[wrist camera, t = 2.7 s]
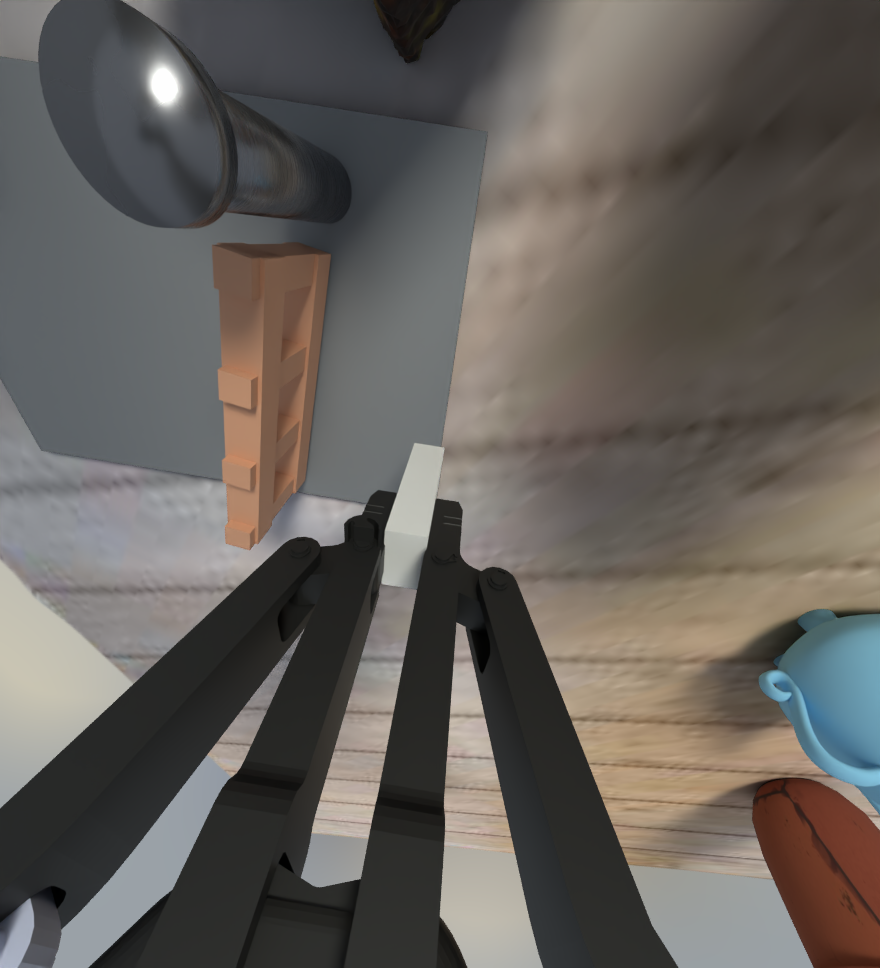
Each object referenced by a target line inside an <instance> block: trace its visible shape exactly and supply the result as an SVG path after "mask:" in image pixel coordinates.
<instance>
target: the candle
mask: <svg viewBox="0 0 880 968" xmlns="http://www.w3.org/2000/svg"><path fill="white" fill-rule="evenodd" d="M459 1H460V0H374V4H375V8H376V10H377V13H378V15H379V18H380V21H381V23H382V26H383V28H384V29H385V30H386V31H387V32H388V34H389V36H390V38H391V40H392V41H393V44H394V47H395V49H397V50H398V53H399V56H401V57H403V58H404V60H405V63H407V64H408V63H411V62H415V61H418V60H419V57H420V53H421V49H422V45H423V42H424V40H425V39H429V38H430V37H431V36H432V35H433V34H434V33H435V32H436V31H437V30H438V29H439V28H440V27H441V26H442V24H443V22H444V20H445V19H446V17H447V15H448V13H449V12H450V10H451V8H452V7H453V5H455V4H456V3H457V2H459Z"/></svg>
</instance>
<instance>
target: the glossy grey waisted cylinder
mask: <svg viewBox="0 0 880 968" xmlns="http://www.w3.org/2000/svg"><path fill="white" fill-rule="evenodd" d="M38 59H39V74H40V82H41V87H42V92H43V96H44V100H45V103H46V106H47V110H48V113H49V116H50V118H51V121H52V123H53V126H54V128H55V130H56V132H57V135H58V137H59V139H60V141H61V143H62V145H63V146H64V148H65V150H66V152H67V153H68V155H69V157H70V158H71V160H72V161H73V163H74V164H75V166H76V167H77V169H78V170H79V171H80V173H81V174H82V175H83V177H84V178H85V179H86V180H87V182H88V183H89V184H90V185H91V186H92V187H93V188H94V189H95V190H96V192H97V193H99V194H100V195H101V196H102V197H103V198H104V199H105V200H106V201H107V202H108V203H110V204H111V205H112V206H113V207H115V208H116V209H117V210H119V211H120V212H122V213H123V214H125V215H126V216H128V217H130V218H132V219H134V220H136V221H138V222H140V223H143V224H146V225H149V226H153V227H159V228H177V229H197V228H202V227H205V226H208V225H210V224H212V223H214V222H215V221H216V220H218V219H219V218H220V217H221V216H222V215H223V214H224V212H226V213H235V214H244V215H253V216H262V217H271V218H280V219H289V220H298V221H307V222H316V223H325V224H332V223H336V222H338V221H339V220H341V219H342V218H343V217H344V216H345V215H346V213H347V212H348V210H349V207H350V204H351V198H352V188H351V183H350V179H349V176H348V174H347V172H346V170H345V168H344V166H343V165H342V164H341V162H340V161H339V160H338V159H337V158H336V157H334V156H333V155H331V154H330V153H328V152H326V151H325V150H323V149H321V148H319V147H318V146H316V145H314V144H312V143H311V142H309V141H307V140H305V139H304V138H302V137H300V136H298V135H297V134H295V133H293V132H292V131H290V130H288V129H286V128H285V127H283V126H281V125H279V124H278V123H276V122H274V121H272V120H271V119H269V118H267V117H265V116H264V115H262V114H260V113H259V112H257V111H255V110H253V109H252V108H250V107H248V106H246V105H245V104H243V103H241V102H239V101H238V100H236V99H234V98H232V97H231V96H229V95H227V94H225V93H224V92H222V91H220V90H219V89H217V87H216V86H215V84H214V82H213V80H212V79H211V77H210V75H209V74H208V73H207V71H206V70H205V68H204V67H203V65H202V64H201V63H200V61H199V60H198V59H197V58H196V57H195V55H194V54H193V53H192V52H191V51H190V50H189V49H188V48H187V47H186V46H185V45H184V44H183V43H182V42H181V41H180V40H179V39H177V38H176V37H175V36H174V35H172V34H171V33H170V32H169V31H167V30H166V29H164V28H163V27H161V26H160V25H158V24H157V23H155V22H154V21H152V20H151V19H149V18H148V17H146V16H145V15H143V14H142V13H140V12H139V11H137V10H136V9H134V8H133V7H131V6H129V5H128V4H126V3H124V2H123V1H121V0H61V1H60V2H58V3H57V4H56V5H55V6H54V7H53V9H52V10H51V11H50V13H49V14H48V16H47V18H46V21H45V23H44V25H43V28H42V32H41V36H40V42H39V51H38Z"/></svg>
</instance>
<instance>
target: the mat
mask: <svg viewBox="0 0 880 968" xmlns="http://www.w3.org/2000/svg"><path fill="white" fill-rule="evenodd" d="M222 92H224V93H225V94H227V95H229V96H231V97H232V98H234V99H236V100H238V101H239V102H241V103H243V104H245V105H246V106H248V107H250V108H252V109H253V110H255V111H257V112H259V113H260V114H262V115H264V116H265V117H267V118H269V119H271V120H272V121H274V122H276V123H278V124H279V125H281V126H283V127H285V128H286V129H288V130H290V131H292V132H293V133H295V134H297V135H298V136H300V137H302V138H304V139H305V140H307V141H309V142H311V143H312V144H314V145H316V146H318V147H319V148H321V149H323V150H325V151H326V152H328V153H330V154H331V155H333V156H334V157H336V158H337V159H338V160H339V161H340V162H341V164H342V165H343V166H344V168H345V170H346V172H347V174H348V176H349V179H350V183H351V188H352V198H351V204H350V207H349V210H348V212H347V213H346V215H345V216H344V217H343V218H342V219H341V220H339V221H338V222H336V223H332V224H325V223H316V222H307V221H298V220H289V219H280V218H271V217H262V216H253V215H244V214H235V213H226V212H224V214H223V215H222V216H221V217H220V218H219V219H218V220H216V221H215V222H214V223H212V224H210V225H208V226H205V227H202V228H197V229H177V228H159V227H153V226H149V225H146V224H143V223H140V222H138V221H136V220H134V219H132V218H130V217H128V216H126V215H125V214H123V213H122V212H120V211H119V210H117V209H116V208H115V207H113V206H112V205H111V204H110V203H108V202H107V201H106V200H105V199H104V198H103V197H102V196H101V195H100V194H99V193H97V192H96V190H95V189H94V188H93V187H92V186H91V185H90V184H89V183H88V182H87V180H86V179H85V178H84V177H83V175H82V174H81V173H80V171H79V170H78V169H77V167H76V166H75V164H74V163H73V161H72V160H71V158H70V157H69V155H68V153H67V152H66V150H65V148H64V146H63V145H62V143H61V141H60V139H59V137H58V135H57V132H56V130H55V128H54V126H53V123H52V121H51V118H50V116H49V113H48V110H47V106H46V103H45V100H44V96H43V92H42V87H41V82H40V74H39V62H33V61H26V60H20V59H13V58H7V57H0V379H1V380H2V382H3V384H4V386H5V387H6V389H7V391H8V393H9V394H10V396H11V398H12V400H13V401H14V403H15V405H16V407H17V409H18V410H19V412H20V414H21V416H22V417H23V419H24V421H25V423H26V424H27V426H28V428H29V430H30V431H31V433H32V435H33V437H34V439H35V440H36V442H37V444H38V446H39V447H40V449H41V451H47V452H53V453H59V454H65V455H72V456H78V457H84V458H90V459H96V460H102V461H109V462H115V463H121V464H127V465H133V466H140V467H146V468H152V469H158V470H164V471H170V472H177V473H183V474H189V475H195V476H201V477H207V478H214V479H220V480H223V475H222V460H223V459H224V458H225V435H224V410H223V401H222V400H219V388H218V369H219V368H221V367H222V359H221V334H220V308H219V290H218V289H215V288H214V281H213V259H212V245H217V243H246V244H283V242H299V243H302V244H305V245H307V246H310V247H313V248H316V249H318V250H321V251H324V252H327V253H329V254H331V260H330V268H329V277H328V286H327V294H326V303H325V312H324V320H323V329H322V338H321V347H320V355H319V364H318V373H317V381H316V390H315V399H314V407H313V416H312V425H311V433H310V442H309V451H308V459H307V468H306V477H305V481H304V482H303V484H302V485H301V486H300V488H299V489H298V491H297V492H300V493H306V494H312V495H319V496H325V497H331V498H337V499H343V500H349V501H356V502H362V503H368V500H369V498H370V496H371V495H372V494H374V493H375V492H376V491H377V490H382V491H388V492H395V493H398V490H399V487H400V484H401V481H402V478H403V475H404V472H405V470H406V467H407V464H408V461H409V458H410V455H411V452H412V449H413V446H414V443H419V444H425V445H431V446H437V447H441V445H442V438H443V431H444V424H445V418H446V411H447V404H448V397H449V391H450V384H451V377H452V370H453V364H454V357H455V350H456V343H457V337H458V330H459V323H460V316H461V310H462V303H463V296H464V289H465V283H466V276H467V269H468V262H469V256H470V249H471V242H472V235H473V229H474V222H475V215H476V208H477V202H478V195H479V188H480V181H481V175H482V168H483V161H484V154H485V148H486V141H487V132H486V131H480V130H473V129H467V128H460V127H454V126H447V125H441V124H434V123H428V122H421V121H415V120H408V119H402V118H395V117H389V116H382V115H376V114H369V113H363V112H357V111H350V110H344V109H337V108H331V107H324V106H318V105H311V104H305V103H298V102H292V101H285V100H279V99H272V98H266V97H259V96H253V95H246V94H240V93H233V92H227V91H222Z"/></svg>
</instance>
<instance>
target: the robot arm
mask: <svg viewBox="0 0 880 968" xmlns="http://www.w3.org/2000/svg"><path fill="white" fill-rule="evenodd" d="M444 449H445V448H443V447H437V446H431V445H425V444H419V443H414V446H413V449H412V452H411V455H410V458H409V461H408V464H407V467H406V470H405V472H404V475H403V478H402V481H401V484H400V487H399V490H398V493H395V492H388V491H382V490H377V491H376V492H375V493H374V494H372V495H371V496H370V498H369V500H368V503H367V505H366V507H365V509H364V512H363V514H362V515H359V516H354V517H352V518H350V519H348V520H347V522H346V523H345V524H344V533H345V542H344V543H342V544H339V545H334V546H323V547H320V545H319V543H318V542H317V541H316V540H314V539H312V538H308V537H297V538H294V539H291V540H289V541H287V542H286V543H285V544H283V545H282V546H281V547H280V548H279V549H278V550H277V551H276V552H275V553H274V554H273V555H271V556H270V557H269V558H268V559H267V560H266V561H265V562H264V563H263V564H262V565H261V566H260V567H259V568H257V569H256V570H255V571H254V572H253V573H252V574H251V575H250V576H249V577H248V578H247V579H246V580H245V581H244V582H242V583H241V584H240V585H239V586H238V587H237V588H236V589H235V590H234V591H233V592H232V593H231V594H230V595H229V596H227V597H226V598H225V599H224V600H223V601H222V602H221V603H220V604H219V605H218V606H217V607H216V608H215V609H214V610H212V611H211V612H210V613H209V614H208V615H207V616H206V617H205V618H204V619H203V620H202V621H201V622H200V623H199V624H197V625H196V626H195V627H194V628H193V629H192V630H191V631H190V632H189V633H188V634H187V635H186V636H185V637H184V638H182V639H181V640H180V641H179V642H178V643H177V644H176V645H175V646H174V647H173V648H172V649H171V650H170V651H169V652H167V653H166V654H165V655H164V656H163V657H162V658H161V659H160V660H159V661H158V662H157V663H156V664H155V665H154V666H152V667H151V668H150V669H149V670H148V671H147V672H146V673H145V674H144V675H143V676H142V677H141V678H140V679H139V680H137V681H136V682H135V683H134V684H133V685H132V686H131V687H130V688H129V689H128V690H127V691H126V692H125V693H124V694H123V695H121V696H120V697H119V698H118V699H117V700H116V701H115V702H114V703H113V704H112V705H111V706H110V707H109V708H107V710H105V711H104V712H103V713H102V714H101V715H100V716H99V717H98V718H97V719H96V720H95V721H94V722H92V724H90V725H89V726H88V727H87V728H86V729H85V730H84V731H83V732H82V733H81V734H80V735H79V736H78V737H76V738H75V739H74V740H73V741H72V742H71V743H70V744H69V745H68V746H67V747H66V748H65V749H64V750H62V751H61V752H60V753H59V754H58V755H57V756H56V757H55V758H54V759H53V760H52V761H51V762H50V763H49V764H48V765H46V766H45V767H44V768H43V769H42V770H41V771H40V772H39V773H38V774H37V775H36V776H35V777H34V778H32V779H31V780H30V781H29V782H28V783H27V784H26V785H25V786H24V787H23V788H22V789H21V790H20V791H19V792H17V794H15V795H14V796H13V797H12V798H11V799H10V800H9V801H8V802H7V803H6V804H5V805H4V806H2V807H1V808H0V968H52V966H53V963H54V961H55V956H56V953H57V951H58V948H59V943H60V938H61V929H62V928H63V927H64V926H66V925H67V924H68V923H69V922H70V921H71V920H72V919H73V918H74V917H75V916H76V915H77V914H78V913H79V912H80V911H81V910H82V909H83V908H84V907H85V906H86V905H87V903H88V902H89V901H90V900H91V899H92V898H93V897H94V896H95V895H96V894H97V893H98V892H99V891H100V889H101V888H102V887H103V886H104V885H105V884H106V883H107V882H108V881H109V880H110V878H111V877H112V876H113V875H114V874H115V872H116V871H117V870H118V869H119V868H120V866H121V865H122V864H123V863H124V861H125V860H126V859H127V858H128V857H129V855H130V854H131V853H132V852H133V850H134V849H135V848H136V846H137V845H138V844H139V843H140V841H141V840H142V839H143V838H144V836H145V835H146V834H147V832H148V831H149V830H150V828H151V827H152V826H153V825H154V823H155V822H156V821H157V819H158V818H159V817H160V815H161V814H162V813H163V812H164V810H165V809H166V808H167V806H168V805H169V804H170V802H171V801H172V800H173V798H174V797H175V796H176V795H177V793H178V792H179V791H180V789H181V788H182V786H183V785H184V784H185V783H186V781H187V780H188V779H189V778H190V776H191V775H192V774H193V772H194V771H195V770H196V769H197V767H198V766H199V765H200V763H201V762H202V761H203V759H204V758H205V757H206V756H207V754H208V753H209V752H210V750H211V749H212V748H213V746H214V745H215V744H216V743H217V741H218V740H219V739H220V737H221V736H222V735H223V733H224V732H225V731H226V730H227V728H228V727H229V726H230V724H231V723H232V722H233V720H234V719H235V718H236V717H237V715H238V714H239V713H240V711H241V710H242V709H243V707H244V706H245V705H246V704H247V702H248V701H249V700H250V698H251V697H252V696H253V694H254V693H255V692H256V691H257V689H258V688H259V687H260V685H261V684H262V683H263V681H264V680H265V679H266V678H267V676H268V675H269V674H270V672H271V671H272V670H273V668H274V667H275V666H276V664H277V663H278V662H279V661H280V659H281V658H282V657H283V655H284V654H285V653H286V651H287V650H288V649H289V648H290V646H291V645H292V644H293V642H294V641H295V640H296V638H297V637H298V636H299V635H300V633H301V632H302V631H303V629H304V628H305V630H304V632H303V634H302V636H301V638H300V640H299V643H298V645H297V647H296V649H295V651H294V654H293V656H292V658H291V660H290V662H289V664H288V667H287V669H286V671H285V673H284V675H283V678H282V680H281V682H280V684H279V686H278V689H277V691H276V693H275V695H274V697H273V699H272V702H271V704H270V706H269V708H268V710H267V713H266V715H265V717H264V719H263V721H262V723H261V726H260V728H259V730H258V732H257V734H256V737H255V739H254V741H253V743H252V745H251V747H250V750H249V752H248V754H247V756H246V758H245V761H244V762H243V764H242V766H241V768H240V769H239V771H238V772H237V773H236V774H235V775H234V776H233V777H231V778H230V779H229V780H228V781H227V783H226V784H225V785H224V787H223V788H222V789H221V791H220V793H219V795H218V797H217V799H216V800H215V802H214V804H213V807H212V808H211V811H210V813H209V815H208V817H207V819H206V821H205V823H204V825H203V827H202V830H201V831H200V834H199V836H198V838H197V840H196V842H195V844H194V846H193V848H192V850H191V852H190V854H189V857H188V859H187V861H186V863H185V865H184V867H183V869H182V871H181V874H180V875H179V878H178V880H177V882H176V884H175V886H174V888H173V890H172V891H170V892H169V893H168V894H167V895H165V896H164V897H163V898H162V899H160V900H159V901H158V902H157V903H156V904H155V905H154V906H153V907H152V908H151V909H150V910H148V911H147V912H146V913H145V914H144V915H143V916H142V917H141V918H140V919H139V920H138V921H137V922H136V923H135V924H134V925H133V926H132V927H131V928H130V929H129V930H127V931H126V932H125V933H124V934H123V935H122V936H121V937H120V938H119V939H118V940H117V941H116V942H115V943H114V944H113V945H112V946H111V947H110V948H109V949H108V950H107V951H105V952H104V953H103V954H102V955H101V956H100V957H99V958H98V959H97V960H96V961H95V962H94V963H93V964H92V965H91V966H90V967H89V968H467V966H466V963H465V960H464V959H463V956H462V953H461V951H460V949H459V947H458V945H457V943H456V941H455V939H454V937H453V935H452V933H451V932H450V930H449V929H448V927H447V926H446V925H445V923H444V921H443V920H442V919H441V918H440V901H441V884H442V869H443V854H444V838H445V813H444V790H445V776H446V762H447V747H448V733H449V719H450V705H451V691H452V676H453V662H454V648H455V634H456V622H457V623H459V624H461V625H463V626H465V627H466V632H467V637H468V641H469V646H470V650H471V655H472V659H473V664H474V669H475V673H476V678H477V682H478V687H479V691H480V696H481V700H482V705H483V709H484V714H485V719H486V723H487V728H488V732H489V737H490V741H491V746H492V750H493V755H494V759H495V764H496V768H497V773H498V778H499V782H500V787H501V791H502V796H503V800H504V805H505V809H506V814H507V818H508V823H509V828H510V832H511V837H512V841H513V846H514V850H515V855H516V859H517V864H518V868H519V873H520V877H521V882H522V887H523V891H524V895H525V900H526V905H527V909H528V914H529V918H530V922H531V926H532V930H533V934H534V937H535V941H536V945H537V949H538V952H539V956H540V959H541V962H542V965H543V968H678V966H677V965H676V963H675V961H674V960H673V958H672V957H671V955H670V954H669V952H668V950H667V949H666V947H665V945H664V944H663V943H662V941H661V939H660V938H659V936H658V935H657V933H656V931H655V930H654V928H653V926H652V924H651V922H650V919H649V917H648V914H647V912H646V909H645V907H644V904H643V901H642V899H641V896H640V894H639V892H638V889H637V886H636V884H635V881H634V879H633V876H632V874H631V871H630V868H629V866H628V863H627V861H626V858H625V856H624V853H623V851H622V848H621V846H620V843H619V841H618V838H617V835H616V833H615V830H614V828H613V825H612V823H611V820H610V818H609V815H608V813H607V810H606V808H605V805H604V802H603V800H602V797H601V795H600V792H599V790H598V787H597V785H596V782H595V780H594V777H593V775H592V772H591V769H590V767H589V764H588V762H587V759H586V757H585V754H584V752H583V749H582V747H581V744H580V742H579V739H578V736H577V734H576V731H575V729H574V726H573V724H572V721H571V719H570V716H569V714H568V711H567V709H566V706H565V703H564V701H563V698H562V696H561V693H560V691H559V688H558V686H557V683H556V681H555V678H554V676H553V673H552V670H551V668H550V665H549V663H548V660H547V658H546V655H545V653H544V650H543V648H542V645H541V643H540V640H539V637H538V635H537V632H536V630H535V627H534V625H533V622H532V620H531V617H530V615H529V612H528V610H527V607H526V604H525V602H524V599H523V597H522V594H521V592H520V589H519V587H518V584H517V582H516V580H515V578H514V577H513V575H511V574H510V573H509V572H508V571H506V570H504V569H501V568H497V567H490V568H486V569H484V570H483V571H479V570H477V569H475V568H473V567H471V566H469V565H468V564H467V563H465V561H464V560H463V559H462V557H461V555H460V540H461V525H462V512H463V510H462V508H461V506H460V504H459V502H455V501H449V500H443V499H437V494H438V488H439V481H440V475H441V468H442V462H443V455H444ZM381 579H382V584H385V585H391V586H397V587H403V588H409V589H416V590H417V593H416V599H415V604H414V609H413V614H412V620H411V625H410V630H409V635H408V641H407V646H406V651H405V656H404V662H403V667H402V672H401V677H400V683H399V688H398V693H397V698H396V704H395V709H394V714H393V719H392V725H391V730H390V735H389V740H388V746H387V751H386V756H385V761H384V766H383V772H382V777H381V782H380V787H379V792H378V797H377V801H376V805H375V810H374V814H373V819H372V824H371V829H370V835H369V840H368V845H367V850H366V855H365V861H364V866H363V871H362V877H361V879H359V880H354V881H350V882H345V883H340V884H335V885H330V886H326V887H320V888H319V887H314V886H312V885H311V884H309V883H308V882H306V881H305V880H303V879H301V874H302V871H303V867H304V864H305V860H306V857H307V853H308V848H309V844H310V838H311V832H312V826H313V822H314V818H315V814H316V810H317V807H318V804H319V800H320V797H321V793H322V790H323V786H324V783H325V779H326V776H327V773H328V769H329V766H330V762H331V759H332V755H333V752H334V748H335V745H336V741H337V738H338V735H339V731H340V728H341V724H342V721H343V717H344V714H345V710H346V707H347V704H348V700H349V697H350V693H351V690H352V686H353V683H354V679H355V676H356V673H357V669H358V666H359V662H360V659H361V655H362V652H363V648H364V645H365V642H366V638H367V635H368V631H369V628H370V624H371V621H372V617H373V614H374V611H375V607H376V604H377V600H378V597H379V586H380V583H381Z"/></svg>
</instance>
